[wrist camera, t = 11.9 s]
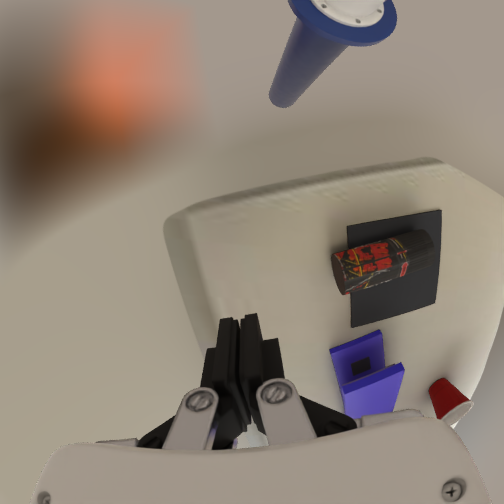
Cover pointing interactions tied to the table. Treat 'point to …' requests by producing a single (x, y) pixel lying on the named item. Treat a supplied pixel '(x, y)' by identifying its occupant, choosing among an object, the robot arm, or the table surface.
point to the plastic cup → (448, 401)
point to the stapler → (366, 376)
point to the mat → (402, 288)
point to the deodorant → (382, 261)
